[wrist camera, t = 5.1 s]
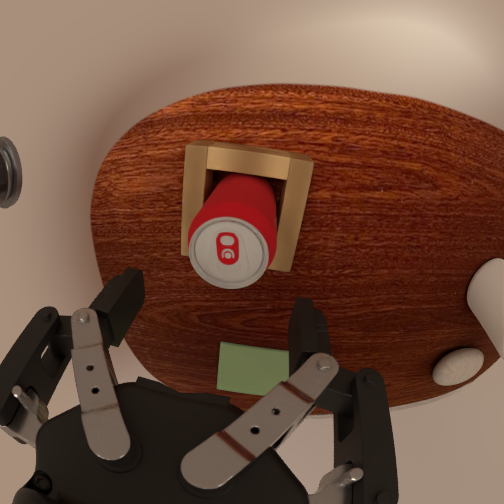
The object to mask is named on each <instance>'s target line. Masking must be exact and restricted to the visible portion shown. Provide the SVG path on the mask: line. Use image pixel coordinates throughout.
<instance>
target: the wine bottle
mask: <svg viewBox="0 0 504 504" xmlns="http://www.w3.org/2000/svg"><path fill="white" fill-rule="evenodd" d="M467 302H468V305H469V307H470V309H471V310H472V312H473V313H474V315H475V316H476V318H477V319H478V321H479V322H480V324H481V325H482V327H483V328H484V330H485V331H486V333H487V334H488V336H489V338H490V339H491V341H492V343H493V344H494V346H495V348H496V349H497V351H498V353H499V354H500V356H501V357H502V358H503V359H504V260H503V259H500V258H495V259H492V260H490V261H488V262H486V263H485V264H484V265H482V266H481V267H480V268H479V269H478V271H477V272H476V273H475V275H474V276H473V278H472V280H471V282H470V284H469V287H468V291H467Z"/></svg>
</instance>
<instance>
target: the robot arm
mask: <svg viewBox="0 0 504 504" xmlns="http://www.w3.org/2000/svg"><path fill="white" fill-rule="evenodd" d="M12 187H13V173H12V167H11V163H10V159H9V157H8V155H7V153H6V151H5V150H4V149H3V148H2V147H0V203H3V202H4V201H6V200H7V199H8V198H9V197H10V195H11V192H12ZM144 299H145V289H144V280H143V272H142V270H139V269H134V268H129V267H128V268H127V269H126V270H125V271H124V273H123V274H122V275H117V276H115V277H114V278H112V279H111V280H110V281H109V282H108V283H107V284H106V287H104V288H103V289H102V292H100V293H99V295H98V296H97V297H96V298H95V300H94V301H93V302H92V304H91V305H90V306H89V308H82V309H79V310H77V311H76V312H74V313H73V315H72V316H60V315H59V314H58V311H57V309H56V308H54V307H50V306H49V307H44V308H42V309H40V310H39V311H38V312H37V313H36V314H35V316H34V317H33V318H32V320H31V321H30V322H29V324H28V325H27V326H26V328H25V329H24V330H23V332H22V333H21V335H20V336H19V338H18V339H17V340H16V342H15V343H14V345H13V346H12V348H11V349H10V351H9V352H8V354H7V355H6V357H5V358H4V360H3V361H2V363H1V365H0V428H1V429H2V430H4V431H5V432H6V433H7V434H8V435H10V436H12V437H13V438H14V439H15V440H17V441H18V442H19V443H21V444H29V445H31V446H32V447H34V448H36V468H35V472H34V474H33V476H32V477H31V479H30V480H29V481H28V482H27V483H26V484H25V485H24V486H23V487H22V488H20V489H19V490H18V491H17V493H16V494H15V497H14V499H13V503H12V504H397V502H398V497H399V494H398V478H397V467H396V456H395V447H394V439H393V432H392V425H391V419H390V412H389V406H388V400H387V395H386V390H385V384H384V380H383V377H382V376H381V374H380V373H379V372H377V371H376V370H374V369H371V368H363V369H361V370H359V371H358V372H357V373H355V372H352V371H349V370H346V369H343V368H342V367H340V366H339V364H338V362H337V360H336V359H335V358H334V357H333V356H332V354H331V347H330V341H329V335H328V329H327V323H326V318H325V316H324V314H323V313H322V312H321V310H318V309H313V303H312V299H311V298H303V297H297V298H296V300H295V304H294V307H293V311H292V314H291V317H290V321H289V328H288V340H289V379H288V380H287V381H285V382H284V381H281V382H279V383H278V384H277V385H276V386H275V387H274V388H272V389H271V390H270V391H269V392H268V393H267V394H266V395H265V396H264V397H262V398H261V399H260V400H259V401H258V402H257V403H255V404H254V405H253V406H252V407H251V408H250V409H248V410H247V411H246V412H244V411H243V410H241V409H240V408H238V407H236V406H234V405H232V404H230V403H229V400H230V397H226V396H220V395H215V394H209V393H180V392H178V391H176V390H174V389H172V388H170V387H168V386H166V385H164V384H162V383H160V382H156V381H153V380H149V379H146V378H142V377H138V378H137V381H136V382H127V383H122V384H118V382H117V378H116V375H115V372H114V368H113V365H112V361H111V357H110V354H109V350H108V349H109V347H110V345H112V346H115V347H119V345H120V343H121V341H122V340H123V338H124V336H125V334H126V333H127V331H128V329H129V327H130V325H131V324H132V322H133V320H134V319H135V317H136V315H137V313H138V312H139V310H140V308H141V307H142V305H143V303H144ZM46 346H48V348H47V350H46V352H45V353H44V355H43V357H42V358H41V355H42V353H43V351H44V350H45V348H46ZM71 358H72V362H73V369H74V375H75V381H76V387H77V392H78V396H79V401H80V404H79V405H77V406H75V407H73V408H71V409H69V410H67V411H65V412H64V413H62V414H60V415H57V416H55V417H53V418H51V419H50V420H48V415H49V414H48V413H49V412H48V408H47V405H48V403H49V401H50V399H51V397H52V395H53V393H54V391H55V389H56V386H57V384H58V382H59V380H60V379H61V377H62V375H63V373H64V371H65V369H66V367H67V365H68V363H69V362H70V360H71ZM316 406H317V407H320V408H323V409H326V410H329V411H332V412H333V416H334V469H333V470H331V471H330V472H328V473H327V474H326V475H324V476H323V477H322V479H321V481H320V484H319V487H318V490H317V491H316V492H315V493H314V494H312V495H308V493H307V491H306V489H305V487H304V486H303V485H302V483H301V482H300V481H299V480H298V479H297V478H296V476H295V475H294V474H293V473H292V471H291V470H290V469H289V468H288V466H287V465H286V464H285V463H284V461H283V460H282V459H281V457H280V456H279V455H278V454H277V452H276V450H277V449H278V448H279V447H280V446H281V445H282V444H283V443H284V442H285V441H286V440H287V439H288V437H289V436H290V435H291V434H292V433H293V431H294V430H295V429H296V428H297V427H298V426H299V425H300V424H301V423H302V422H303V420H304V419H305V418H306V417H307V416H308V415H309V414H310V413H311V411H312V410H313V409H314V408H315V407H316Z"/></svg>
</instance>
